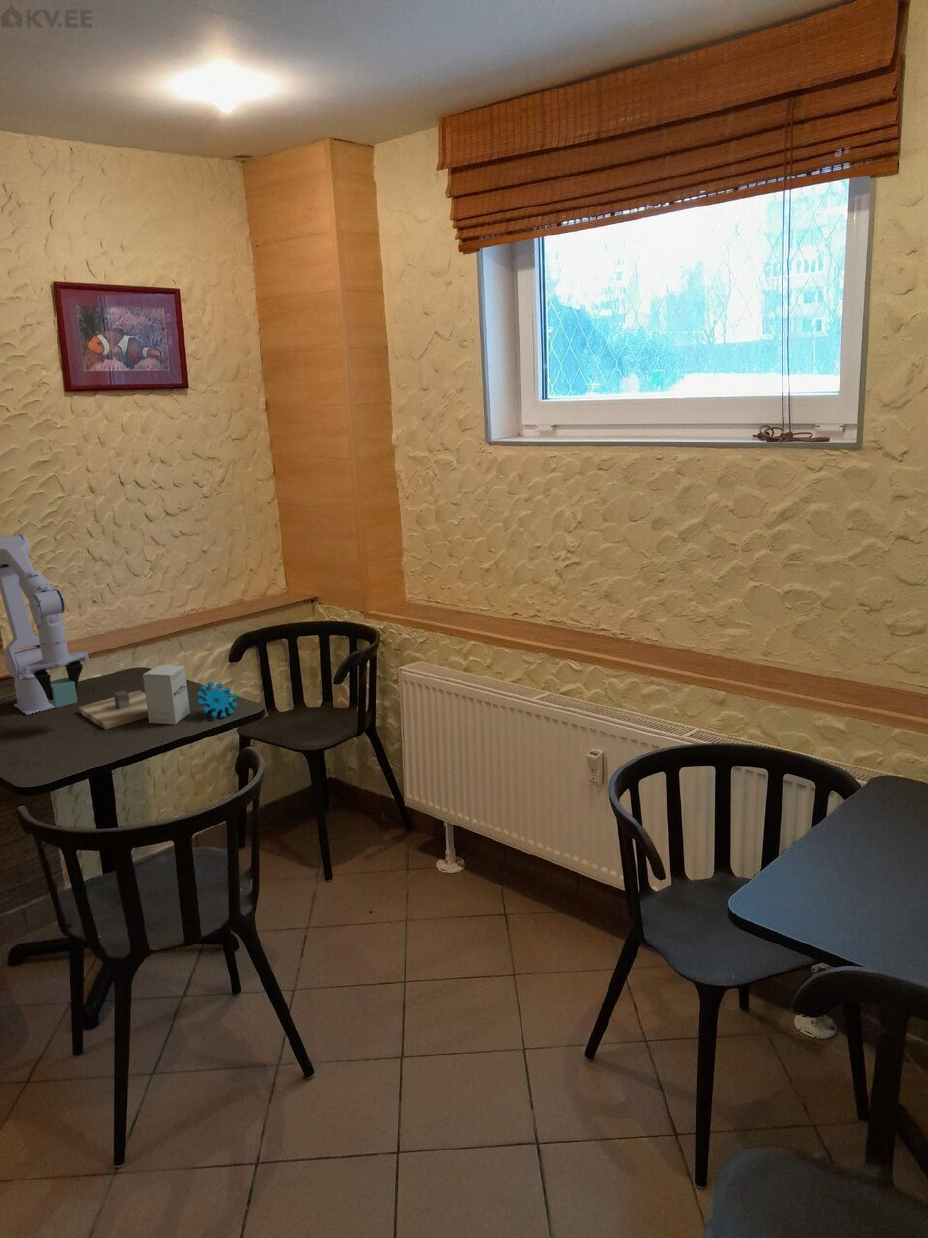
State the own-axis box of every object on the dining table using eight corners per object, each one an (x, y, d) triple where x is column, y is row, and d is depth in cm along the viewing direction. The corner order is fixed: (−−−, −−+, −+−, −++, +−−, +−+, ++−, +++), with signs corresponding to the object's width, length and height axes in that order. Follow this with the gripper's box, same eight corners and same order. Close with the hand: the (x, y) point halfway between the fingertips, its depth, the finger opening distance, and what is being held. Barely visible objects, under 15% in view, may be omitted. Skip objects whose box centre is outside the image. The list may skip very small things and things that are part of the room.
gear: (206, 718, 223) (192, 683, 227) (197, 730, 227) (184, 695, 231) (247, 711, 231) (233, 677, 235) (238, 723, 235) (225, 689, 238)
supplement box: (176, 725, 225) (169, 675, 221) (148, 723, 226) (141, 674, 223) (191, 713, 232) (185, 665, 228) (164, 712, 233) (157, 664, 230)
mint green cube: (48, 702, 223) (45, 682, 222) (69, 696, 227) (66, 677, 225) (56, 707, 220) (53, 687, 218) (77, 701, 223) (74, 682, 222)
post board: (79, 712, 235) (76, 694, 233) (140, 695, 245) (137, 677, 244) (105, 729, 223) (102, 710, 222) (168, 710, 234) (165, 692, 232)
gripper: (26, 652, 212) (36, 708, 215) (90, 637, 221) (98, 691, 225) (16, 646, 217) (26, 701, 220) (78, 632, 226) (87, 685, 230)
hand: (62, 696), depth 223 cm, fingers closed on mint green cube, 5 cm apart
